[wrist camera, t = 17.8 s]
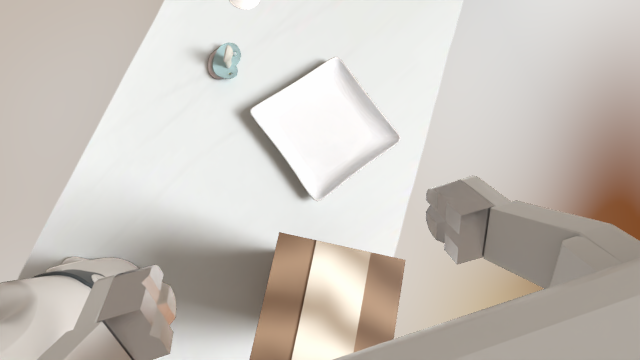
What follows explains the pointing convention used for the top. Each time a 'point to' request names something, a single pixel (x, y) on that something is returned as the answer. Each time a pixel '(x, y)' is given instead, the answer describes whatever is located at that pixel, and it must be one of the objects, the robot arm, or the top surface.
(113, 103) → the top surface
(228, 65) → the pacifier
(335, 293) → the stand
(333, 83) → the salad plate
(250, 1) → the champagne flute
